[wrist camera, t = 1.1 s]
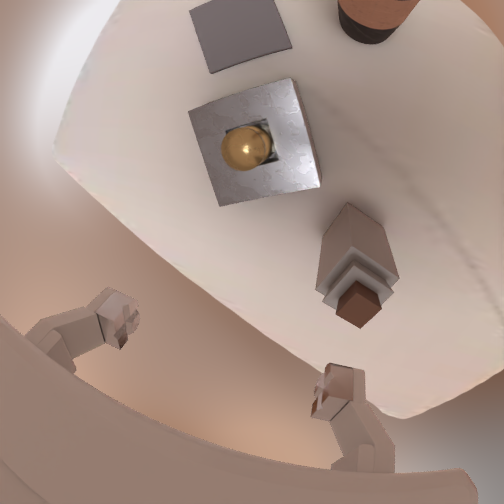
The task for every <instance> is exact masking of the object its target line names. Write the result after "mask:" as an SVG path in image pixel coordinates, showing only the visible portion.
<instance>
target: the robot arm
mask: <svg viewBox="0 0 504 504" xmlns="http://www.w3.org/2000/svg"><path fill="white" fill-rule="evenodd" d="M137 307H138V301H137V300H136V299H134V298H132V297H130V296H128V295H125V294H123V293H121V292H119V291H117V290H115V289H113V288H110V287H107V288H105V289H104V290H103V291H102V292H101V293H100V294H99V295H98V296H97V297H96V298H95V299H94V300H93V301H92V302H91V303H90V304H89V305H88V306H87V307H86V308H85V307H80V308H77V309H73V310H70V311H67V312H63V313H60V314H57V315H54V316H50V317H47V318H44V319H41V320H40V321H39V322H38V323H37V324H36V325H35V326H34V327H33V328H32V329H31V330H30V331H29V332H28V333H27V334H26V335H25V336H23V335H22V334H21V333H19V331H17V330H16V329H15V328H14V327H13V326H12V325H11V324H10V323H9V322H8V321H7V320H5V319H4V318H3V317H2V316H1V315H0V504H478V492H477V488H476V486H475V485H474V483H473V482H472V480H471V479H470V477H469V476H468V474H467V473H466V472H465V471H464V470H463V469H461V468H454V469H447V470H438V471H428V472H412V473H394V472H395V445H394V444H393V442H392V440H391V439H390V437H389V435H388V434H387V432H386V431H385V429H384V428H383V426H382V424H381V423H380V421H379V420H378V418H377V416H376V415H375V413H374V412H373V410H372V408H371V407H370V405H369V404H366V394H365V372H364V370H360V369H356V368H352V367H347V366H342V365H338V364H333V363H328V364H327V366H326V367H325V373H323V374H321V375H320V377H319V379H318V380H317V383H316V386H315V391H314V396H315V397H316V400H315V401H314V403H313V404H312V411H311V417H312V418H317V419H321V420H326V421H330V425H331V427H332V429H333V432H334V434H335V436H336V439H337V441H338V443H339V446H340V448H341V451H342V453H343V456H344V457H342V458H341V459H339V460H337V461H336V462H334V463H333V464H332V465H331V470H328V469H320V468H313V467H307V466H301V465H295V464H289V463H285V462H280V461H275V460H271V459H266V458H262V457H258V456H254V455H250V454H246V453H243V452H239V451H236V450H233V449H229V448H226V447H223V446H220V445H217V444H214V443H211V442H208V441H205V440H202V439H200V438H197V437H194V436H192V435H189V434H186V433H184V432H181V431H179V430H177V429H174V428H172V427H169V426H167V425H165V424H163V423H160V422H158V421H156V420H154V419H152V418H149V417H147V416H145V415H143V414H141V413H139V412H137V411H135V410H133V409H131V408H130V407H128V406H126V405H124V404H122V403H120V402H118V401H116V400H115V399H113V398H111V397H109V396H107V395H106V394H104V393H102V392H101V391H99V390H98V389H96V388H94V387H93V386H91V385H89V384H88V383H86V382H85V381H83V380H82V379H80V378H79V377H77V376H76V375H74V373H75V371H76V366H75V365H74V362H73V361H72V359H73V358H76V357H78V356H80V355H82V354H84V353H86V352H88V351H90V350H92V349H94V348H96V347H98V346H101V345H103V344H105V343H107V344H109V345H111V346H113V347H115V348H117V349H119V350H121V348H122V347H123V346H124V344H125V343H126V342H127V341H128V335H129V334H132V333H134V331H135V330H136V329H137V327H138V324H139V320H140V315H139V312H138V311H137Z"/></svg>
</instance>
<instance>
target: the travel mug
mask: <svg viewBox="0 0 504 504" xmlns="http://www.w3.org/2000/svg"><path fill="white" fill-rule="evenodd" d="M419 1H420V0H338V9H339V20H340V24H341V26H342V28H343V30H344V31H345V32H346V33H347V34H348V35H349V36H350V37H351V38H353V39H354V40H356V41H358V42H361V43H365V44H377V43H381V42H383V41H384V40H386V39H387V38H388V37H389V36H390V35H391V34H392V33H393V32H394V31H395V30H396V29H397V28H398V27H399V26H400V25H401V24H402V23H403V22H404V20H405V19H406V18H407V16H408V15H409V14H410V12H411V11H412V10H413V9H414V7H415V6H416V5H417V3H418V2H419Z"/></svg>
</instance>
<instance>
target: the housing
mask: <svg viewBox="0 0 504 504" xmlns="http://www.w3.org/2000/svg"><path fill="white" fill-rule="evenodd" d="M188 113H189V117H190V120H191V123H192V126H193V129H194V132H195V135H196V138H197V141H198V144H199V147H200V150H201V153H202V156H203V159H204V162H205V165H206V168H207V171H208V174H209V177H210V180H211V183H212V186H213V189H214V192H215V195H216V198H217V200H218V203H219V206H225V205H229V204H234V203H239V202H244V201H248V200H253V199H258V198H263V197H268V196H273V195H278V194H284V193H289V192H294V191H300V190H306V189H311V188H317V187H320V186H321V181H322V175H321V171H320V166H319V162H318V158H317V154H316V150H315V146H314V142H313V138H312V135H311V131H310V127H309V124H308V120H307V116H306V113H305V110H304V106H303V103H302V99H301V96H300V93H299V90H298V86H297V83H296V81H294V80H293V79H292V78H287V79H283V80H279V81H275V82H272V83H268V84H265V85H261V86H258V87H255V88H251V89H248V90H245V91H242V92H239V93H236V94H233V95H230V96H227V97H224V98H221V99H219V100H216V101H213V102H211V103H208V104H205V105H203V106H200V107H198V108H195V109H193V110H190V111H188ZM255 124H264V125H267V126H269V127H270V130H271V134H272V137H273V140H274V144H275V147H276V151H275V152H274V153H273V154H272V155H271V156H270V157H268V158H267V159H266V160H264V161H263V162H262V163H260V164H259V165H258V166H257V167H255V168H254V169H251V170H248V171H238V170H235V169H233V168H231V167H230V166H229V165H228V164H227V163H226V162H225V161H224V159H223V157H222V153H221V144H222V141H223V139H224V137H225V136H226V134H227V133H229V132H230V131H232V130H234V129H237V128H241V127H246V126H250V125H255Z"/></svg>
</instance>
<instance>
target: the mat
mask: <svg viewBox="0 0 504 504" xmlns="http://www.w3.org/2000/svg"><path fill="white" fill-rule="evenodd" d="M189 12H190V15H191V18H192V21H193V24H194V27H195V30H196V33H197V36H198V39H199V42H200V45H201V48H202V51H203V54H204V57H205V60H206V63H207V66H208V69H209V72H210V73H211V74H213V73H215V72H218V71H221V70H223V69H226V68H229V67H231V66H234V65H237V64H240V63H243V62H246V61H249V60H252V59H255V58H258V57H262V56H265V55H268V54H272V53H275V52H279V51H283V50H287V49H291V48H292V46H291V43H290V40H289V38H288V35H287V32H286V30H285V27H284V25H283V22H282V20H281V17H280V15H279V12H278V10H277V7H276V5H275V3H274V0H212V1H209V2H207V3H205V4H203V5H200V6H198V7H196V8H194V9H192V10H190V11H189Z"/></svg>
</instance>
